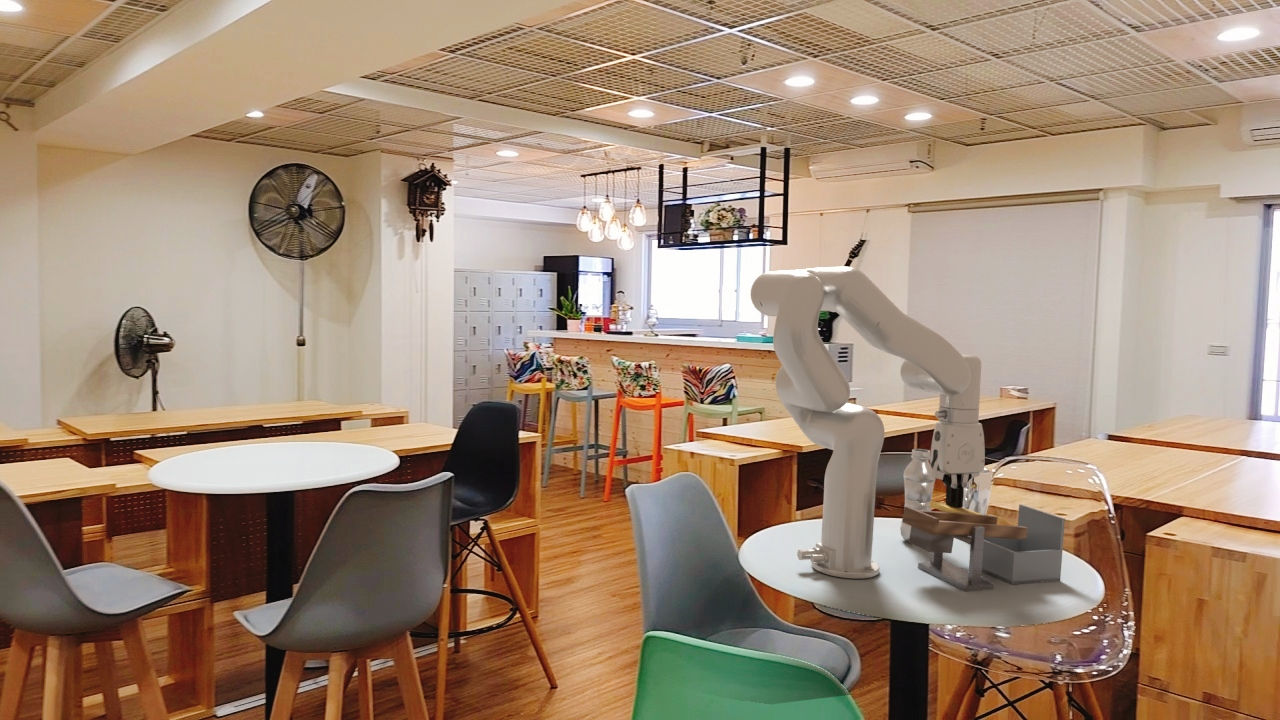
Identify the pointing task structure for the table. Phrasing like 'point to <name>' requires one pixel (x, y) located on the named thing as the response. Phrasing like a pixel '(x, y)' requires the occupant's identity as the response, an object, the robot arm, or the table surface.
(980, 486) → the beer glass
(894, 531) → the table surface
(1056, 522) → the cup
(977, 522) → the lever chute
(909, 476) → the plastic bottle
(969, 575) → the pivot stand
